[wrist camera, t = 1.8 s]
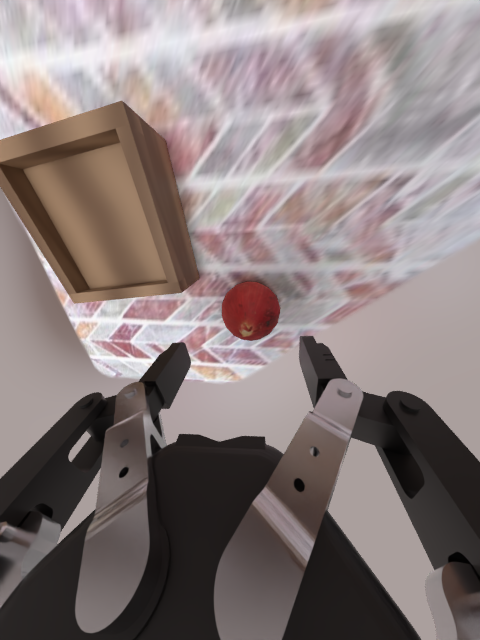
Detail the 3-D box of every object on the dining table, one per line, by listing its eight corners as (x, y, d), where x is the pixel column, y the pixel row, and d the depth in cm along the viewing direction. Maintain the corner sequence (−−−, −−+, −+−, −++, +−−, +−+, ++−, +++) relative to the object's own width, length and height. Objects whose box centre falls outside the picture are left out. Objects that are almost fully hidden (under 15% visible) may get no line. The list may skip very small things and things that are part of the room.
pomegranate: (280, 276, 19) (291, 304, 12) (272, 321, 22) (278, 365, 15) (229, 271, 19) (210, 296, 12) (228, 316, 22) (212, 357, 15)
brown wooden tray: (167, 142, 15) (122, 100, 10) (200, 277, 20) (181, 292, 16) (57, 170, 17) (-25, 147, 12) (114, 287, 22) (74, 303, 18)
